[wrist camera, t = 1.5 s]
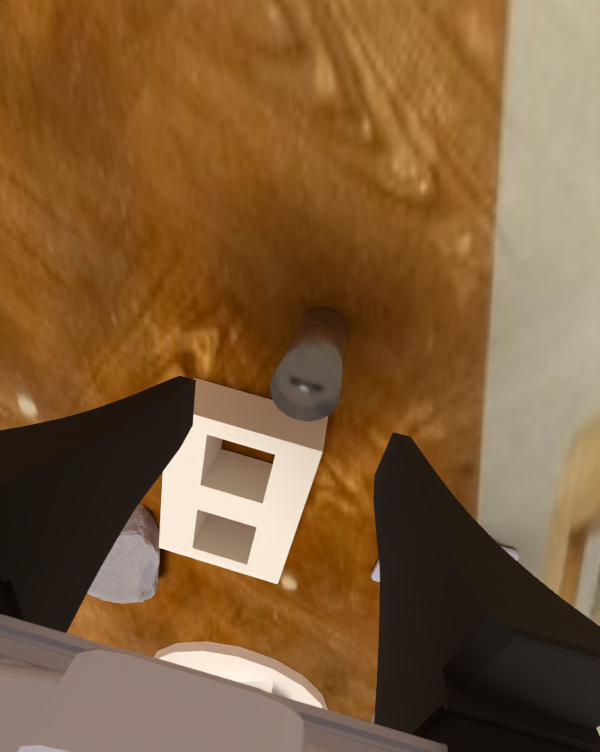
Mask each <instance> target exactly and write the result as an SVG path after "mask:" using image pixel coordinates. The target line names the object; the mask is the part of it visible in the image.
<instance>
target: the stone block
mask: <svg viewBox="0 0 600 752" xmlns="http://www.w3.org/2000/svg"><path fill="white" fill-rule="evenodd" d="M159 535H160V528H159V527H158V526H157V524H156V522H155V520H154V519H153V517H152V516H151V514H150V512H149V511H148V510H147V509H146V508H145V507H144V506H143V505H140V504H138V506H137V507H136V509H135V510H134V512H133V514H132V515H131V517H130V518H129V520H128V522H127V523H126V525H125V527H124V528H123V530H122V532H121V533H120V535H119V537H118V538H117V540H116V542H115V544H114V545H113V547H112V549H111V551H110V552H109V554H108V556H107V558H106V559H105V561H104V563H103V565H102V566H101V568H100V570H99V572H98V574H97V576H96V577H95V579H94V581H93V583H92V585H91V587H90V588H89V590H88V592H87V593H88V594H90V595H91V596H94V597H98V598H100V599H101V600H105V601H110V602H118V603H121V604H123V603H133V602H143V601H144V600H145V599H150V598H151V597H152V596H153V595H154V594H155V593H156V591H157V589H158V574H159V564H160V559H159V558H160V550H159Z"/></svg>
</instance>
